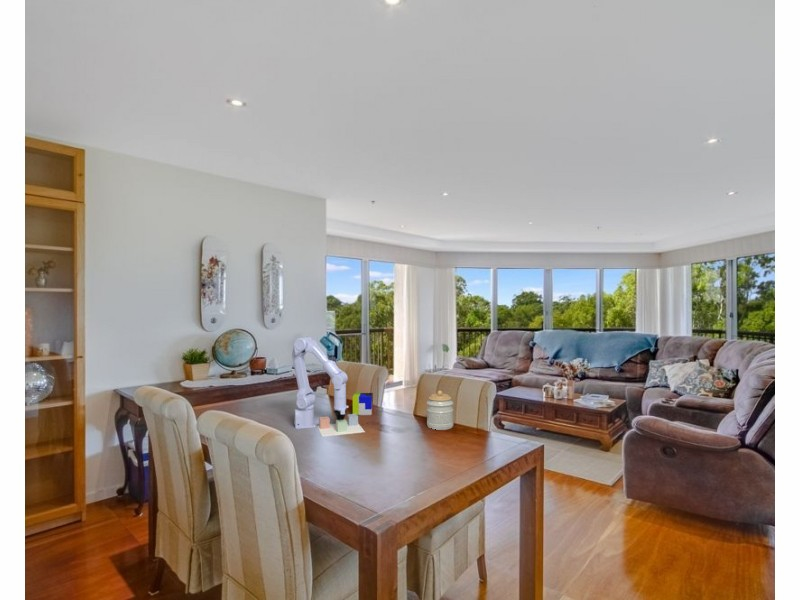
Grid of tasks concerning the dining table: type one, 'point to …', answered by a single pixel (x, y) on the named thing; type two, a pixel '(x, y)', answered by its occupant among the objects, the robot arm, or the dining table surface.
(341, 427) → the sage block
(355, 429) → the mat
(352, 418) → the slate block
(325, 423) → the terracotta block
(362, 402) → the puzzle toy
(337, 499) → the dining table surface
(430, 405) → the jar
